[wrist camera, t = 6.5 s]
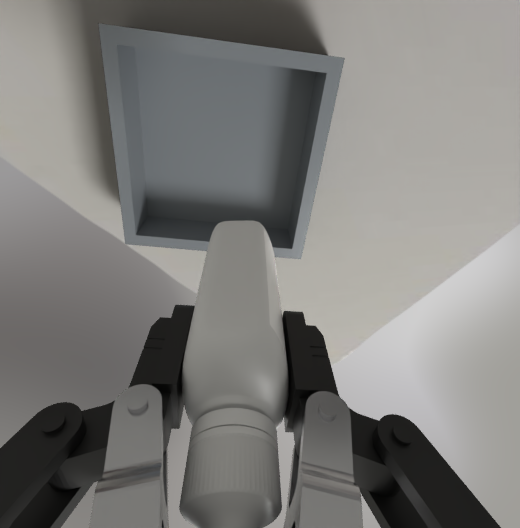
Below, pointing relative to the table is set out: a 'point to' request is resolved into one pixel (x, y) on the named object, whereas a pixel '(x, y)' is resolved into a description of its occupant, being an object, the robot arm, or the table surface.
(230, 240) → the eye dropper bottle
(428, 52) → the table surface
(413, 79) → the table surface
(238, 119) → the box
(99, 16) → the table surface
